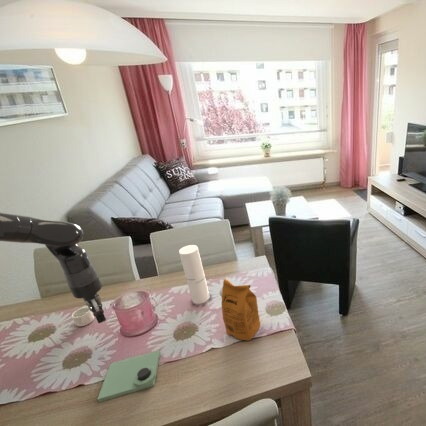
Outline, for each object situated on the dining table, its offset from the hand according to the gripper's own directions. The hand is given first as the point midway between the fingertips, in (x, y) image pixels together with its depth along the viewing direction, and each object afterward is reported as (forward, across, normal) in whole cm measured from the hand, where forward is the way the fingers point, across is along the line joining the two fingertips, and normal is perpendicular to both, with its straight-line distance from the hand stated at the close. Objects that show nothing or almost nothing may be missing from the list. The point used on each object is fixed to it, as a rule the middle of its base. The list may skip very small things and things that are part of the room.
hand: (102, 320), depth 99 cm
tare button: (+11, +23, +3) cm, 25 cm away
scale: (+13, +17, +1) cm, 21 cm away
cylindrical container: (+13, -2, +34) cm, 36 cm away
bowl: (+13, -24, -4) cm, 28 cm away
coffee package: (+14, +28, +36) cm, 47 cm away
